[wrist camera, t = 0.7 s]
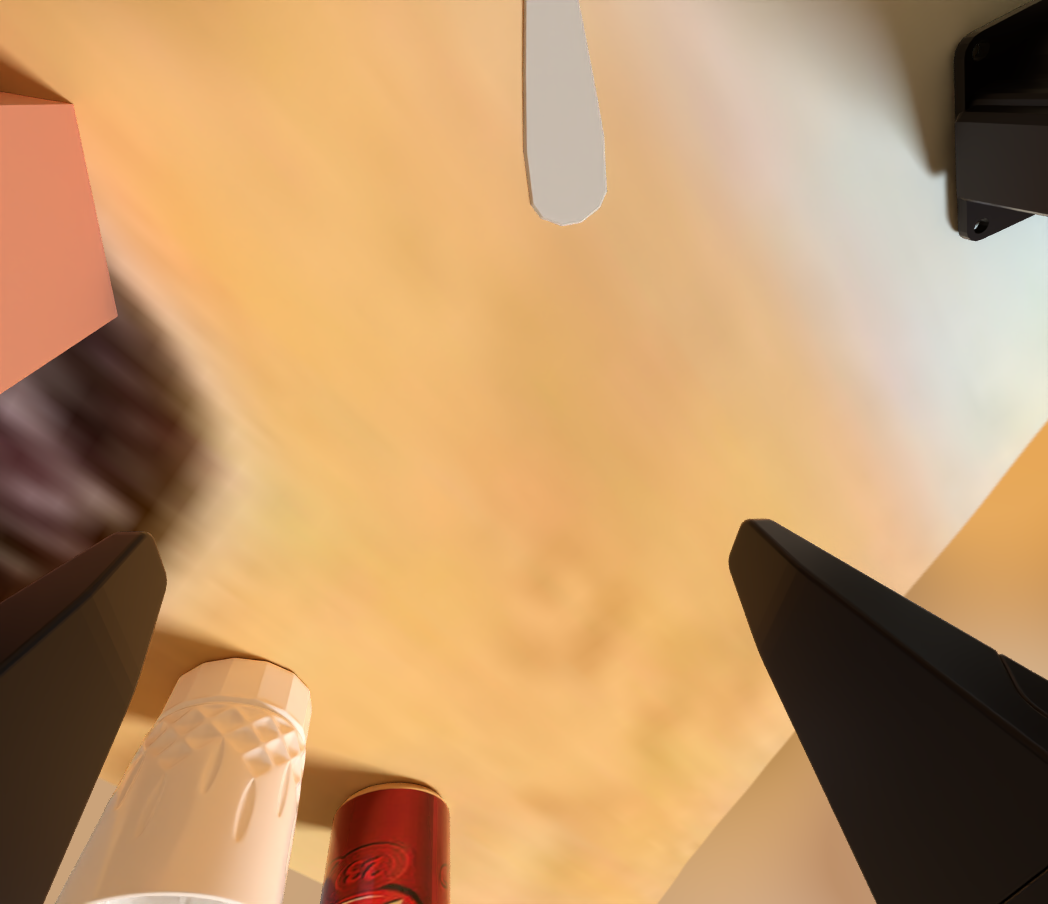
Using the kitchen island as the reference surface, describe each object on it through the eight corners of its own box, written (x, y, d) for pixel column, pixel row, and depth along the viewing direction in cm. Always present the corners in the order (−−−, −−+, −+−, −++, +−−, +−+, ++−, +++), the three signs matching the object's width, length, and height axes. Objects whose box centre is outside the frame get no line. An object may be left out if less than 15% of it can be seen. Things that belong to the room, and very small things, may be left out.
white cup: (124, 678, 27) (-19, 935, 19) (271, 628, 27) (190, 872, 18) (222, 757, 32) (141, 997, 23) (351, 716, 31) (316, 947, 23)
